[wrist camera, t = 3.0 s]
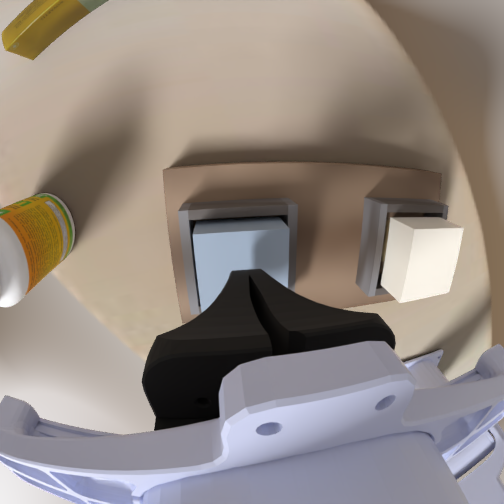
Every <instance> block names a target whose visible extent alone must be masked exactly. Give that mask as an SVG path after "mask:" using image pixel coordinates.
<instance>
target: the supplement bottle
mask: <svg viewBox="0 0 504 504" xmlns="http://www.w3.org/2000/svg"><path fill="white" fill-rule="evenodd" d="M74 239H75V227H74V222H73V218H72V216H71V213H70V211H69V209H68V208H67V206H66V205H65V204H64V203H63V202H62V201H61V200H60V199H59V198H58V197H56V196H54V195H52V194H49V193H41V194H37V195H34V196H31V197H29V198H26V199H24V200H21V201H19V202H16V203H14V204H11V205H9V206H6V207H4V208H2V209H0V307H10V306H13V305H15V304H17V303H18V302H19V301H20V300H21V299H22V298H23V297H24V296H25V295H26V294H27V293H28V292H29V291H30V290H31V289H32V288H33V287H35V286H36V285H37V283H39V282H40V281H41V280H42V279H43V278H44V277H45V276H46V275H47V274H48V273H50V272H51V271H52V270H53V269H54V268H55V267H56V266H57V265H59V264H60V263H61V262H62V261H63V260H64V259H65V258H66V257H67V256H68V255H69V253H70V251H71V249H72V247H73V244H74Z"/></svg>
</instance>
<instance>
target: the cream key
mask: <svg viewBox="0 0 504 504" xmlns="http://www.w3.org/2000/svg"><path fill="white" fill-rule="evenodd" d="M462 234H463V227H461V226H458V225H456V224H454V223H452V222H450V221H447V220H445V219H443V218H440V217H390V225H389V234H388V241H387V248H386V255H385V262H384V268H383V274H382V279H381V284H380V285H382V286H383V287H384V288H385V289H386V290H387V291H388V292H389V293H390V294H391V295H392V296H393V297H394V298H395V299H396V300H397V301H398V302H399V303H403V302H408V301H413V300H418V299H422V298H427V297H431V296H436V295H440V294H445V293H449V290H450V286H451V283H452V279H453V275H454V271H455V267H456V263H457V259H458V254H459V250H460V245H461V239H462Z"/></svg>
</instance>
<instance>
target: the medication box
mask: <svg viewBox="0 0 504 504" xmlns="http://www.w3.org/2000/svg"><path fill="white" fill-rule="evenodd" d="M107 1H108V0H34V1H33V2H32V3H30V4H29V5H28V6H27V7H26V8H25V9H24V10H23V11H22V12H21V13H20V14H19V15H18V16H17V17H16V18H15V19H14V20H13V21H12V22H11V23H10V24H9V25H8V26H7V27H6V28H5V30H4V31H3V32H2V41H3V45H4V48H5V50H6V51H9V52H12V53H14V54H17V55H20V56H23V57H26V58H28V59H31V60H34V59H35V58H36V57H37V56H38V55H39V54H40V53H41V52H42V51H43V50H44V49H46V48H47V47H48V46H49V45H50V44H51V43H52V42H53V41H55V40H56V39H57V38H58V37H59V36H60V35H62V34H63V33H64V32H65V31H66V30H68V29H69V28H70V27H71V26H73V25H74V24H75V23H77V22H78V21H79V20H81V19H82V18H83V17H85V16H86V15H87V14H89V13H90V12H92V11H93V10H95V9H96V8H98V7H99V6H100V5H102V4H104V3H105V2H107Z"/></svg>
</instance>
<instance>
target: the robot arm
mask: <svg viewBox="0 0 504 504" xmlns="http://www.w3.org/2000/svg"><path fill="white" fill-rule="evenodd" d="M395 344H396V343H395V335H394V334H393V332H392V330H391V329H390V328H389V326H388V325H387V324H386V323H385V322H384V321H383V319H382V318H381V317H380V316H379V315H378V314H376V313H364V312H354V311H348V310H343V309H338V308H334V307H330V306H327V305H324V304H321V303H318V302H315V301H312V300H310V299H308V298H305V297H303V296H301V295H299V294H297V293H295V292H294V291H292V290H290V289H288V288H287V287H285V286H284V285H282V284H281V283H279V282H278V281H276V280H275V279H274V278H272V277H271V276H270V275H268V274H267V273H266V272H265V271H263V270H262V269H248V270H234V271H232V272H231V273H230V275H229V278H228V280H227V282H226V284H225V286H224V288H223V289H222V291H221V292H220V294H219V295H218V296H217V298H216V299H215V300H214V302H213V303H212V304H211V305H210V306H209V307H208V308H207V309H206V310H205V311H203V312H202V313H201V314H200V315H198V316H197V317H196V318H194V319H193V320H191V321H189V322H188V323H186V324H184V325H182V326H180V327H178V328H176V329H174V330H171V331H169V332H166V333H163V334H161V335H158V336H157V337H156V339H155V341H154V343H153V345H152V347H151V350H150V352H149V354H148V357H147V360H146V364H145V369H144V372H143V378H142V384H143V389H144V392H145V394H146V397H147V399H148V401H149V403H150V406H151V407H152V410H153V412H154V414H155V416H156V422H155V429H154V431H150V432H143V433H136V434H126V435H121V434H113V433H107V432H100V431H94V430H89V429H84V428H79V427H74V426H69V425H65V424H61V423H57V422H53V421H49V420H46V419H42V418H40V417H39V416H38V414H37V412H36V411H35V410H34V408H33V407H32V406H31V405H29V404H28V403H27V402H25V401H22V400H19V399H16V398H13V397H10V396H4V398H3V400H2V402H1V403H0V462H1V463H2V464H3V465H4V466H6V467H7V468H8V469H9V470H10V471H11V472H13V473H14V474H15V475H16V476H17V477H19V478H20V479H21V480H23V481H24V482H27V483H29V484H31V485H33V486H35V487H37V488H39V489H42V490H44V491H46V492H48V493H50V494H53V495H55V496H58V497H60V498H63V499H65V500H68V501H70V502H72V503H75V504H504V485H503V483H502V481H501V479H500V478H499V477H500V474H501V472H502V470H503V467H504V432H503V430H502V428H501V427H500V425H499V424H498V423H497V422H499V421H500V420H501V419H502V418H503V417H504V348H503V347H502V346H501V345H500V344H497V345H495V346H494V347H492V348H490V349H488V350H486V351H485V352H484V353H483V354H482V355H481V357H480V358H479V360H478V362H477V364H476V366H475V368H474V369H473V370H471V371H469V372H467V373H465V374H463V375H461V376H459V377H457V378H455V379H453V380H451V381H448V379H447V378H446V377H445V376H444V375H443V373H442V372H441V371H440V370H439V369H438V367H437V366H438V363H439V361H440V359H441V357H442V355H443V352H444V351H443V350H442V349H440V350H438V351H435V352H432V353H430V354H427V355H424V356H421V357H418V358H415V359H412V360H409V361H406V362H402V360H401V359H400V358H399V357H398V355H397V354H396V353H395V351H394V349H395ZM490 433H491V434H492V436H493V437H494V438H495V440H494V439H493V437H492V436H491V434H490ZM493 449H494V451H493V453H492V455H491V456H490V457H489V458H488V459H487V460H486V461H485V462H484V463H482V464H481V465H480V466H479V467H478V468H476V469H475V470H474V471H473V472H471V473H470V474H469V475H467V476H466V477H465V478H464V479H462V480H461V481H460V482H457V481H456V480H457V479H458V478H459V477H461V476H462V475H463V474H465V473H466V472H467V471H468V470H470V469H471V468H472V467H473V466H475V465H476V464H477V463H478V462H479V461H481V460H482V459H483V458H484V457H485V456H486V455H488V454H489V453H490V452H491V451H492V450H493Z"/></svg>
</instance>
